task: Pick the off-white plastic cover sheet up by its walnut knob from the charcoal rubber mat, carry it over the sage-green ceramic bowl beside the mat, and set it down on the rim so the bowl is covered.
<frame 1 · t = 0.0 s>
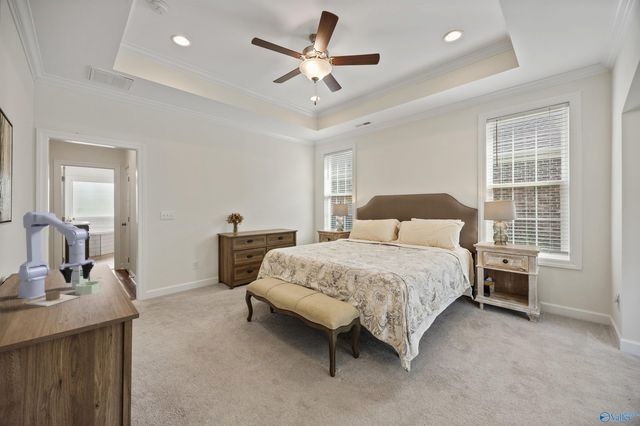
hand: (77, 280, 129), 10 cm above the table, tool pointing down, fingers open, 7 cm apart
syrup box: (80, 288, 148), on the table
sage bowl: (88, 292, 141), on the table
cover sheet: (52, 300, 128), resting on charcoal mat
charcoal mat: (52, 301, 128), on the table
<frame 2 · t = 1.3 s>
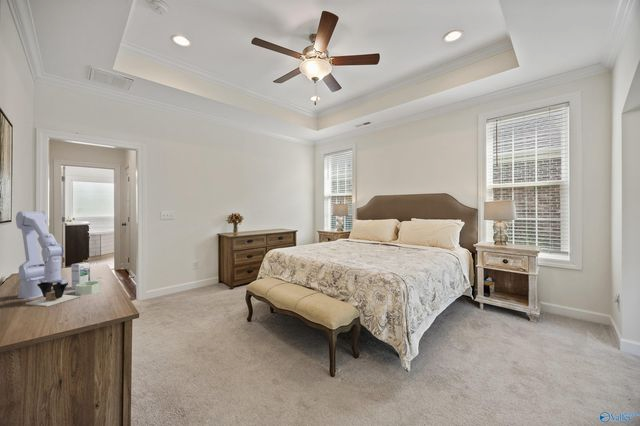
hand: (52, 297, 128), 2 cm above the table, tool pointing down, fingers open, 7 cm apart
nothing on the table moved.
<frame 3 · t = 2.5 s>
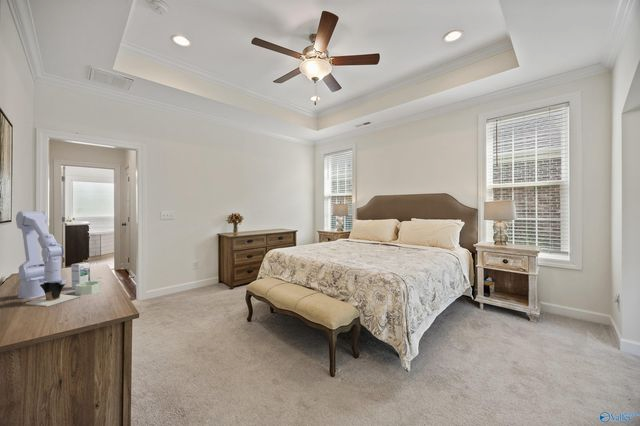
hand: (52, 297, 128), 2 cm above the table, tool pointing down, fingers closed on cover sheet, 3 cm apart
cover sheet: (52, 300, 128), resting on charcoal mat, touching gripper
everything else where it was.
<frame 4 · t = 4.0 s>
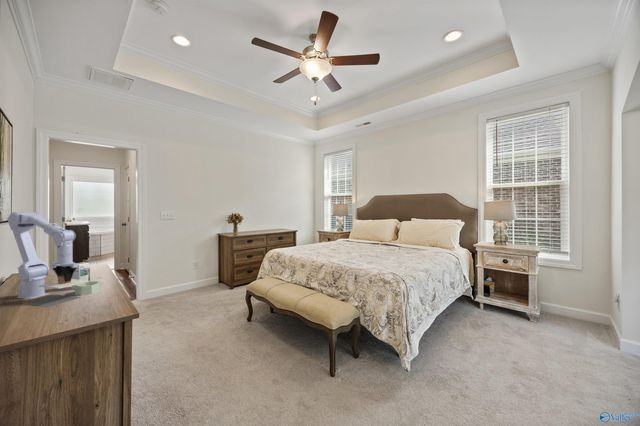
hand: (64, 280, 132), 9 cm above the table, tool pointing down, fingers closed on cover sheet, 3 cm apart
cover sheet: (64, 284, 132), point 7 cm above the table, touching gripper
everything else where it was.
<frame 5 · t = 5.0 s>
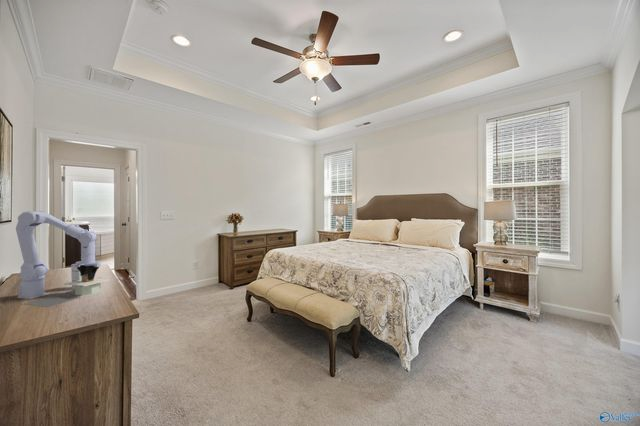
hand: (88, 279, 141), 7 cm above the table, tool pointing down, fingers closed on cover sheet, 3 cm apart
cover sheet: (87, 282, 141), point 6 cm above the table, touching gripper
everything else where it was.
when the fingers open (7 cm above the table, at t = 5.7 s): cover sheet stays where it is, resting on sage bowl.
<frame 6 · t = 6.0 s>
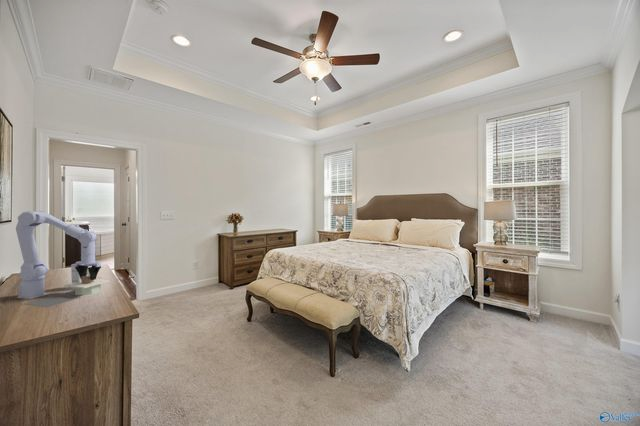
hand: (88, 279, 141), 7 cm above the table, tool pointing down, fingers open, 6 cm apart
cover sheet: (87, 283, 141), point 5 cm above the table, touching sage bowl
everything else where it was.
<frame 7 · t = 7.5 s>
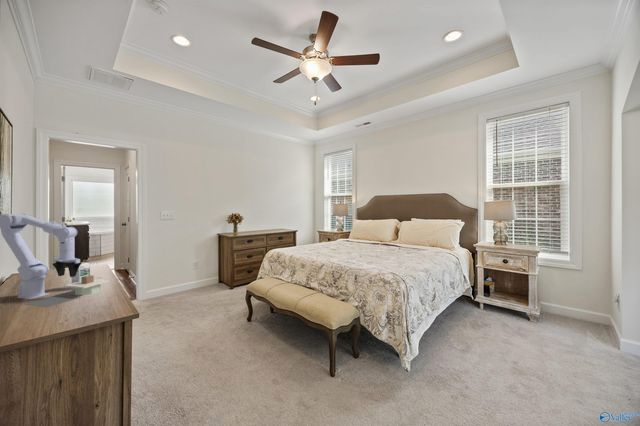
hand: (67, 276, 136), 10 cm above the table, tool pointing down, fingers open, 7 cm apart
nothing on the table moved.
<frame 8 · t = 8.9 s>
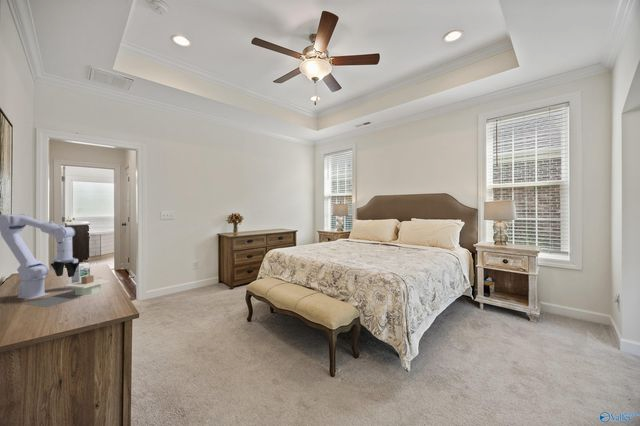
hand: (65, 276, 135), 10 cm above the table, tool pointing down, fingers open, 7 cm apart
nothing on the table moved.
at the end: cover sheet 0.3 cm from the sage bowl (horizontally); cover sheet point 5.0 cm above the table; cover sheet tilted 0° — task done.
